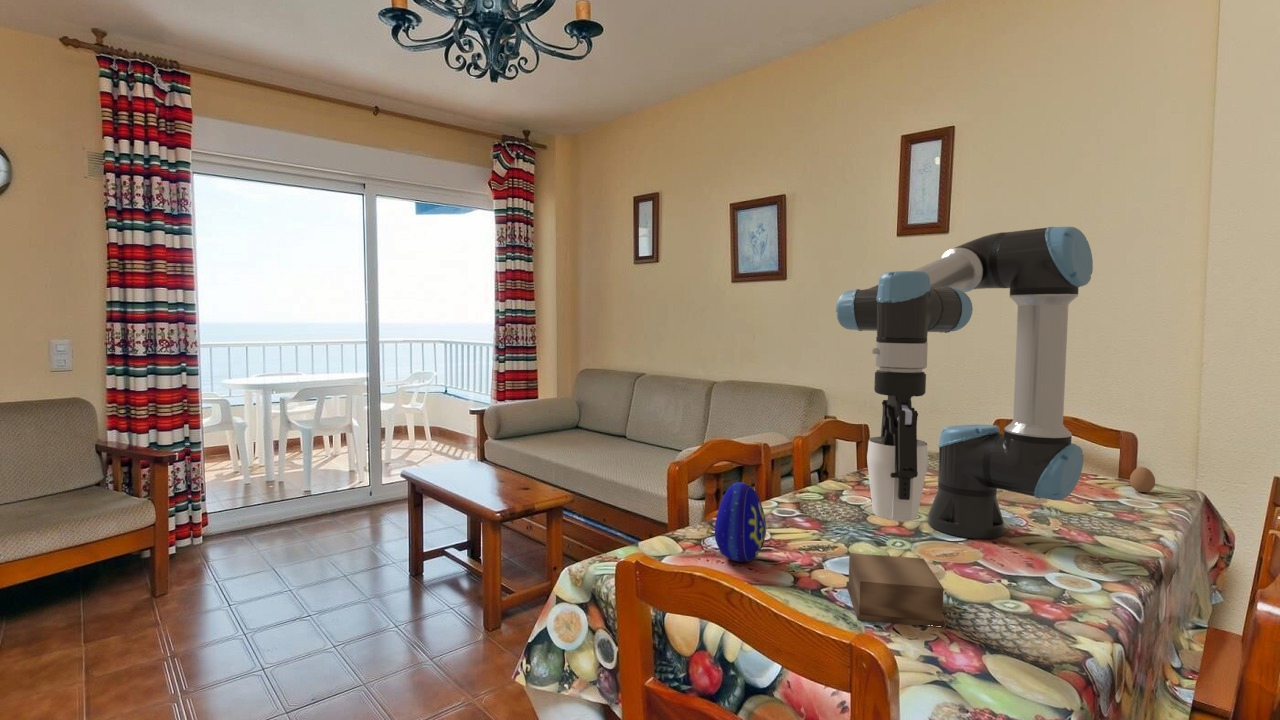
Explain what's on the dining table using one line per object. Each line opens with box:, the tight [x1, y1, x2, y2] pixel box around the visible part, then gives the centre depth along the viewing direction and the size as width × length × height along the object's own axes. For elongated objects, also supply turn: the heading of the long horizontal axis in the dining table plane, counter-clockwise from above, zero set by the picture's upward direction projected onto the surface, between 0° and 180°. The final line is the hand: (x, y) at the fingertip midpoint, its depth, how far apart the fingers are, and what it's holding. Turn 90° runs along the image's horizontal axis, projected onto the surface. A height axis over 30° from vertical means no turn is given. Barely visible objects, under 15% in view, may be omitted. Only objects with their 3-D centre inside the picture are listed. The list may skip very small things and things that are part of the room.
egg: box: [1129, 466, 1156, 493], centre depth 171 cm, size 5×5×7 cm
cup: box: [866, 436, 929, 522], centre depth 101 cm, size 9×9×12 cm
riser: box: [846, 552, 946, 628], centre depth 102 cm, size 13×13×6 cm
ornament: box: [714, 481, 767, 563], centre depth 121 cm, size 11×9×15 cm
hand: (895, 509), depth 101 cm, fingers closed on cup, 9 cm apart
